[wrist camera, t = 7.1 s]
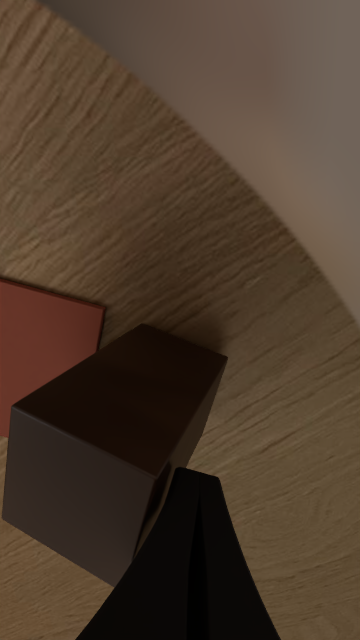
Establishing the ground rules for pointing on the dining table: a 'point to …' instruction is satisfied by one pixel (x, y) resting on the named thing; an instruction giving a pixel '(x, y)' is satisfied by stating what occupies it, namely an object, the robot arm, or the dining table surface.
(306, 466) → the dining table surface
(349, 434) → the dining table surface
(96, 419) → the walnut block
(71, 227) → the dining table surface
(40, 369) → the terracotta mat
